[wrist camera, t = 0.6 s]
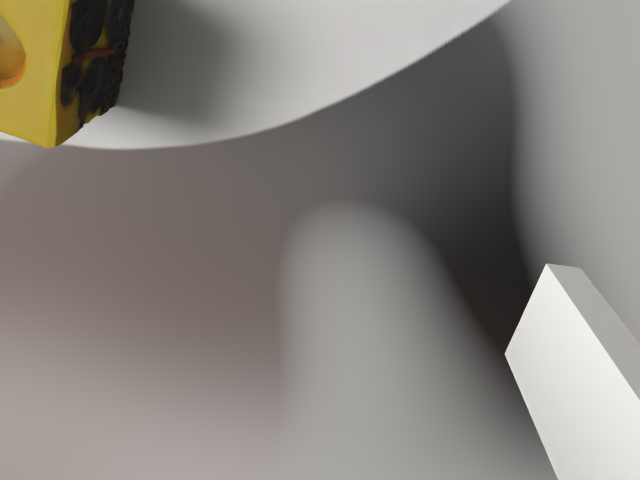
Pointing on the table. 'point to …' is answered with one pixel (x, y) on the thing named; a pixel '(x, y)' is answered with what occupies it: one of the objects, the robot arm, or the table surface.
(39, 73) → the candle
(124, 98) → the table surface
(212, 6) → the table surface
